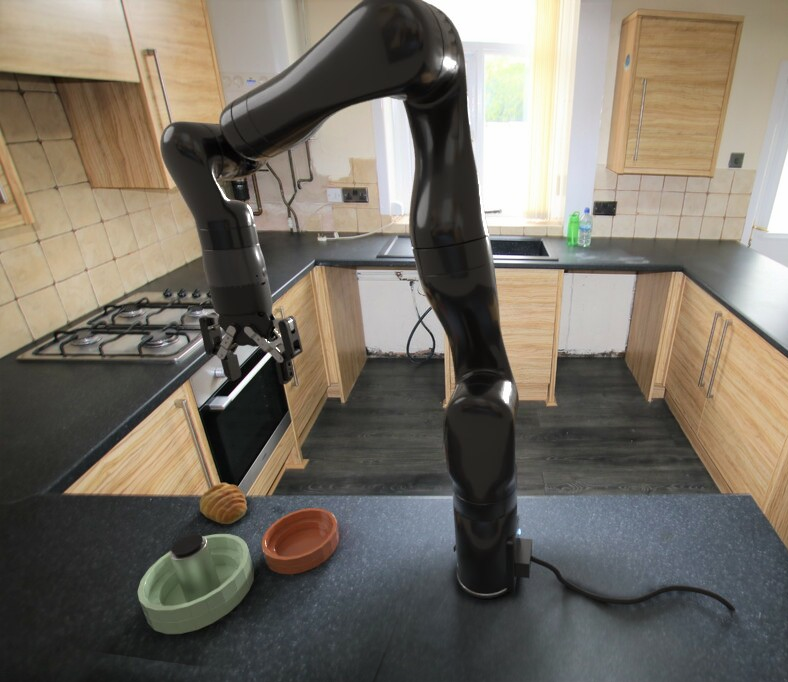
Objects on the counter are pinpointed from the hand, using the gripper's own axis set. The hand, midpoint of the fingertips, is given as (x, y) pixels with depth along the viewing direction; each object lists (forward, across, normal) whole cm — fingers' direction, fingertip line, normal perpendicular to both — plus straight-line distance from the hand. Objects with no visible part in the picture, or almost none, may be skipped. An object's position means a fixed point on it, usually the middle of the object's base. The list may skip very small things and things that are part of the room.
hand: (260, 380), depth 73 cm
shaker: (+28, -5, -15) cm, 32 cm away
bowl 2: (+28, +5, -5) cm, 29 cm away
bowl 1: (+28, -5, -15) cm, 32 cm away
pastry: (+28, -14, +2) cm, 32 cm away
